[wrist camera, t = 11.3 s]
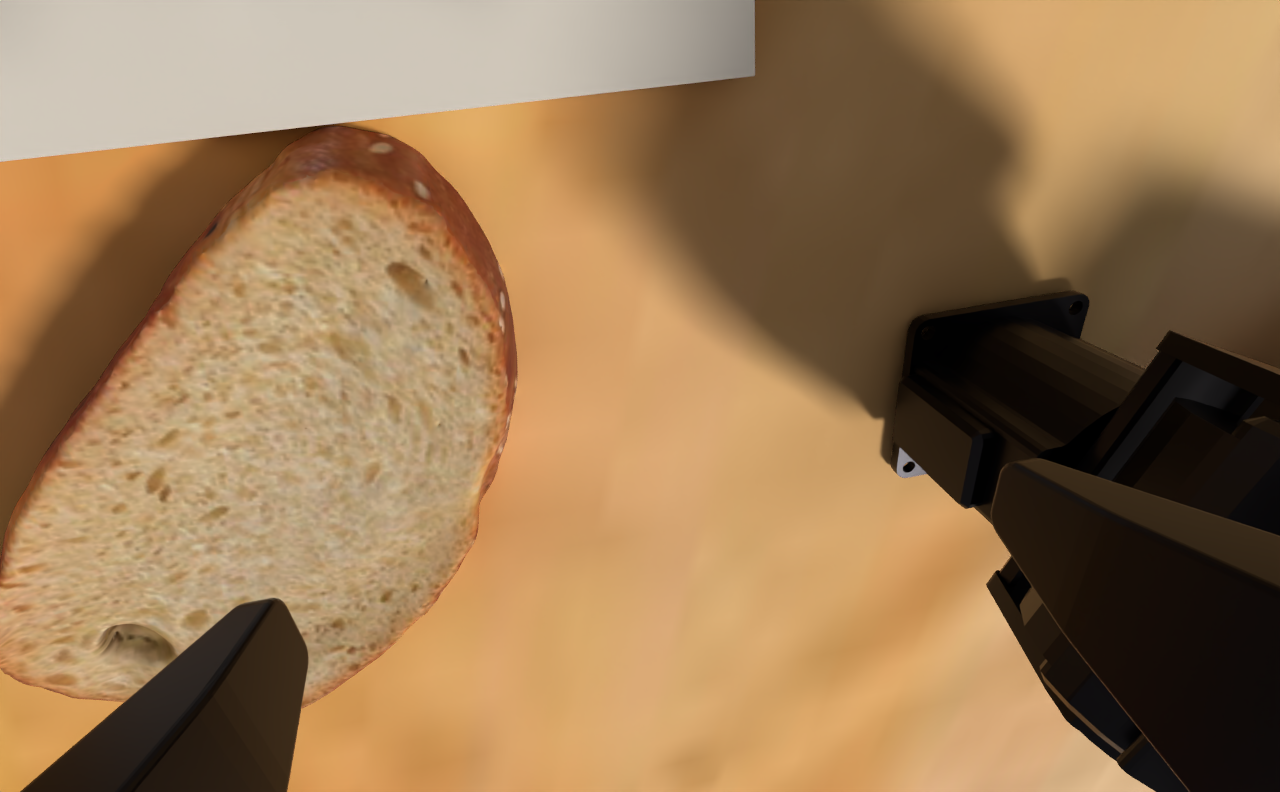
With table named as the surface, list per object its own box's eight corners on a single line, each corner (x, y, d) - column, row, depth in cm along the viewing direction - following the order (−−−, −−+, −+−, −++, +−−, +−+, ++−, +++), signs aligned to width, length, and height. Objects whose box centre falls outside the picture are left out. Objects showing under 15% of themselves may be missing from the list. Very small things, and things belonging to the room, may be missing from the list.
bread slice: (453, 99, 16) (436, 104, 12) (596, 589, 24) (609, 667, 21) (-303, 250, 14) (-546, 302, 11) (136, 712, 23) (74, 816, 20)
